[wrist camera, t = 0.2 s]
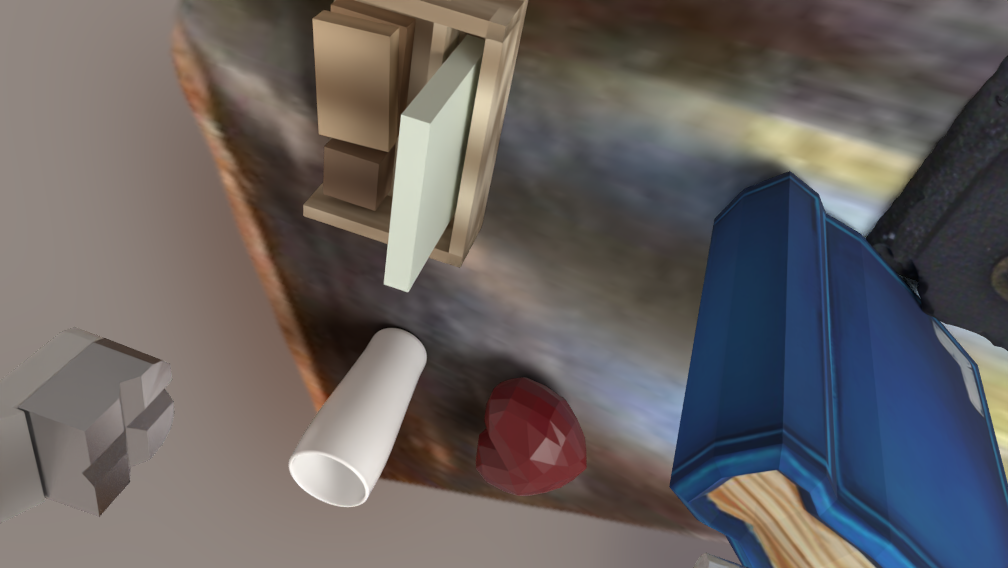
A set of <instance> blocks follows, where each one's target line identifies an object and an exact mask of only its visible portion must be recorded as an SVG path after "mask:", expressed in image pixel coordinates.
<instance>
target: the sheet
mask: <svg viewBox="0 0 1008 568" xmlns="http://www.w3.org/2000/svg"><path fill="white" fill-rule="evenodd" d="M484 46H485V40H484V39H481V38H477V37H474V36H471V35H468V34H467V35H466V37H465V38H464V39H463V40H462V41H461V43H460V44H459V45H458V46H457V48H456V49H455V50H454V51H453V52H452V54H451V55H450V56H449V57H448V58H447V60H446V61H445V62H444V63H443V64H442V66H441V67H440V68H439V69H438V71H437V72H436V73H435V74H434V75H433V77H432V78H431V79H430V80H429V81H428V83H427V84H426V85H425V86H424V87H423V89H422V90H421V91H420V92H419V94H418V95H417V96H416V97H415V98H414V100H413V101H412V102H411V103H410V104H409V106H408V107H407V108H406V109H405V110H404V112H403V113H402V114H401V121H400V131H399V141H398V150H397V160H396V170H395V180H394V190H393V199H392V209H391V219H390V229H389V239H388V249H387V258H386V268H385V278H384V284H385V285H388V286H391V287H394V288H397V289H400V290H402V291H405V292H409V290H410V288H411V287H412V285H413V283H414V282H415V280H416V278H417V276H418V275H419V273H420V271H421V270H422V268H423V266H424V265H425V263H426V261H427V259H428V258H429V256H430V254H431V253H432V251H433V249H434V247H435V246H436V244H437V242H438V241H439V239H440V237H441V236H442V234H443V232H444V230H445V229H446V227H447V225H448V224H449V222H450V220H451V219H452V217H453V215H454V213H455V212H456V208H457V202H458V196H459V190H460V185H461V179H462V173H463V167H464V161H465V156H466V150H467V144H468V138H469V133H470V127H471V121H472V115H473V109H474V104H475V98H476V92H477V86H478V81H479V75H480V69H481V63H482V58H483V52H484Z"/></svg>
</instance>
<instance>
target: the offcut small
mask: <svg viewBox="0 0 1008 568" xmlns="http://www.w3.org/2000/svg"><path fill="white" fill-rule="evenodd" d="M395 146H396V143H395V144H394V146H393V147H392V148H391V149H390V151H389V152H386V151H382V150H378V149H374V148H370V147H366V146H363V145H359V144H355V143H351V142H347V141H343V140H339V139H335V138H332V139H331V140H330V141H329V142H328V143H327V144H326V145H325V146H324V175H323V194H325V195H328V196H331V197H334V198H337V199H340V200H343V201H346V202H349V203H352V204H355V205H358V206H361V207H365V208H368V209H371V210H374V211H375V210H376V209H377V208H378V206H379V205H380V204H381V202H382V201H383V200H384V198H385V197H386V195H387V194H388V193H389V191H390V190H391V187H392V177H393V167H394V156H395Z"/></svg>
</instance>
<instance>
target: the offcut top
mask: <svg viewBox="0 0 1008 568" xmlns="http://www.w3.org/2000/svg"><path fill="white" fill-rule="evenodd" d="M313 37H314V55H315V74H316V92H317V110H318V129H319V134H320V135H323V136H327V137H331V138H335V139H339V140H343V141H347V142H351V143H355V144H359V145H363V146H366V147H370V148H374V149H378V150H382V151H386V152H389V151H390V149H391V148H392V147H393V146H394V144H395V143H396V142H397V112H398V68H399V27H395V26H391V25H386V24H382V23H378V22H373V21H369V20H365V19H360V18H356V17H352V16H348V15H343V14H339V13H335V12H330V11H326V10H323V11H322V12H320V13H319V14H318V15H317V16H315V17H314V18H313Z"/></svg>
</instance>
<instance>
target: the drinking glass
mask: <svg viewBox="0 0 1008 568" xmlns="http://www.w3.org/2000/svg"><path fill="white" fill-rule="evenodd" d="M426 361H427V354H426V350H425V348H424V346H423V344H422V343H421V342H420V340H419V339H418V338H416V337H415V336H414V335H412V334H411V333H409V332H407V331H405V330H402V329H398V328H385V329H382V330H380V331H378V332H377V333H376V334H375V335H374V336H373V337H372V339H371V340H370V342H369V344H368V345H367V347H366V349H365V350H364V351H363V353H362V354H361V355H360V357H359V358H358V360H357V361H356V362H355V364H354V365H353V366H352V368H351V369H350V370H349V372H348V373H347V374H346V376H345V377H344V378H343V380H342V381H341V382H340V384H339V385H338V386H337V387H336V389H335V390H334V391H333V393H332V394H331V395H330V397H329V398H328V399H327V401H326V402H325V403H324V405H323V406H322V407H321V409H320V410H319V411H318V413H317V414H316V415H315V417H314V418H313V420H312V421H311V423H310V425H309V426H308V427H307V429H306V431H305V432H304V434H303V436H302V438H301V439H300V441H299V443H298V445H297V447H296V448H295V450H294V452H293V454H292V456H291V457H290V460H289V471H290V473H291V476H292V477H293V479H294V480H295V482H296V483H297V484H298V485H299V486H300V487H301V488H302V489H303V490H305V491H306V492H307V493H309V494H310V495H312V496H313V497H315V498H317V499H319V500H321V501H323V502H326V503H328V504H332V505H336V506H341V507H354V506H358V505H360V504H362V503H364V502H365V501H366V500H367V498H368V496H369V494H370V493H371V491H372V489H373V487H374V486H375V484H376V482H377V480H378V478H379V476H380V474H381V472H382V470H383V468H384V466H385V464H386V462H387V460H388V458H389V455H390V453H391V450H392V448H393V445H394V443H395V440H396V437H397V434H398V432H399V429H400V426H401V424H402V421H403V418H404V416H405V413H406V410H407V408H408V405H409V403H410V400H411V397H412V395H413V392H414V390H415V387H416V384H417V382H418V379H419V377H420V375H421V373H422V371H423V369H424V367H425V365H426Z"/></svg>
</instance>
